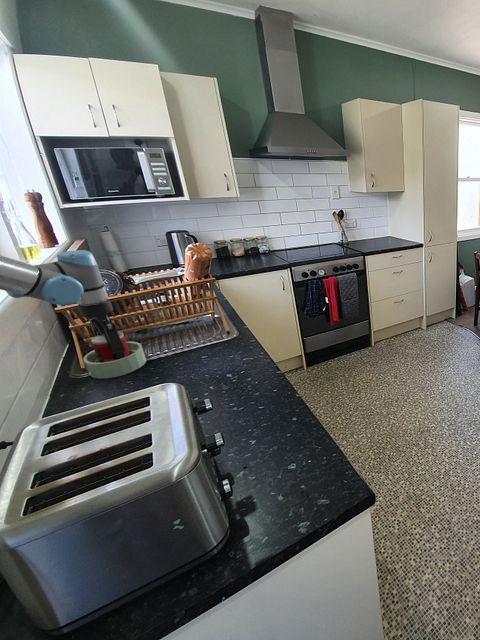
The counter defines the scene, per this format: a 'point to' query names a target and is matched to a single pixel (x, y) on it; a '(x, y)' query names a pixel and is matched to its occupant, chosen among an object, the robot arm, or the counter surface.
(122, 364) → the bowl
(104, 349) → the canned food
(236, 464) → the counter surface
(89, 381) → the counter surface
